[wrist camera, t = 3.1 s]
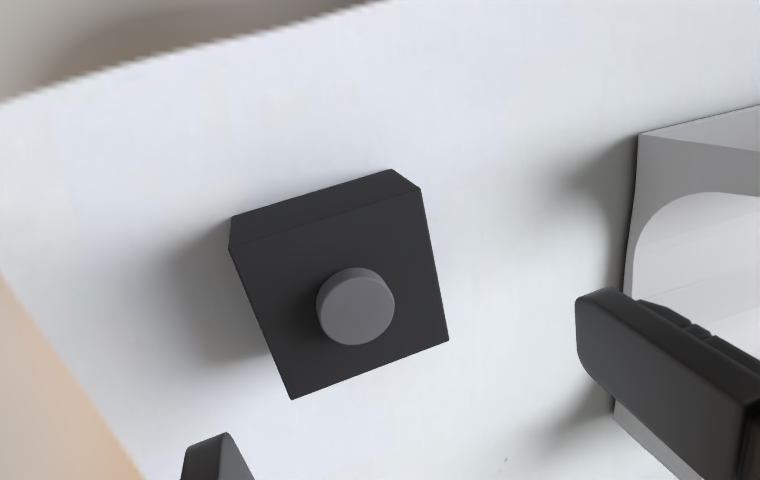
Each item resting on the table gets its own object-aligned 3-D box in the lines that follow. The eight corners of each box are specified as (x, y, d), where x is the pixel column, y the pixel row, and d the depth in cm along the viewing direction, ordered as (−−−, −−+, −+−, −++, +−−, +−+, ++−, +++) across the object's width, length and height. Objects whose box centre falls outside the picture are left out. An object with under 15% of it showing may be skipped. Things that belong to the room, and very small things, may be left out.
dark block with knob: (284, 350, 17) (293, 418, 14) (230, 216, 15) (225, 259, 12) (421, 301, 18) (460, 354, 15) (392, 167, 16) (431, 194, 13)
